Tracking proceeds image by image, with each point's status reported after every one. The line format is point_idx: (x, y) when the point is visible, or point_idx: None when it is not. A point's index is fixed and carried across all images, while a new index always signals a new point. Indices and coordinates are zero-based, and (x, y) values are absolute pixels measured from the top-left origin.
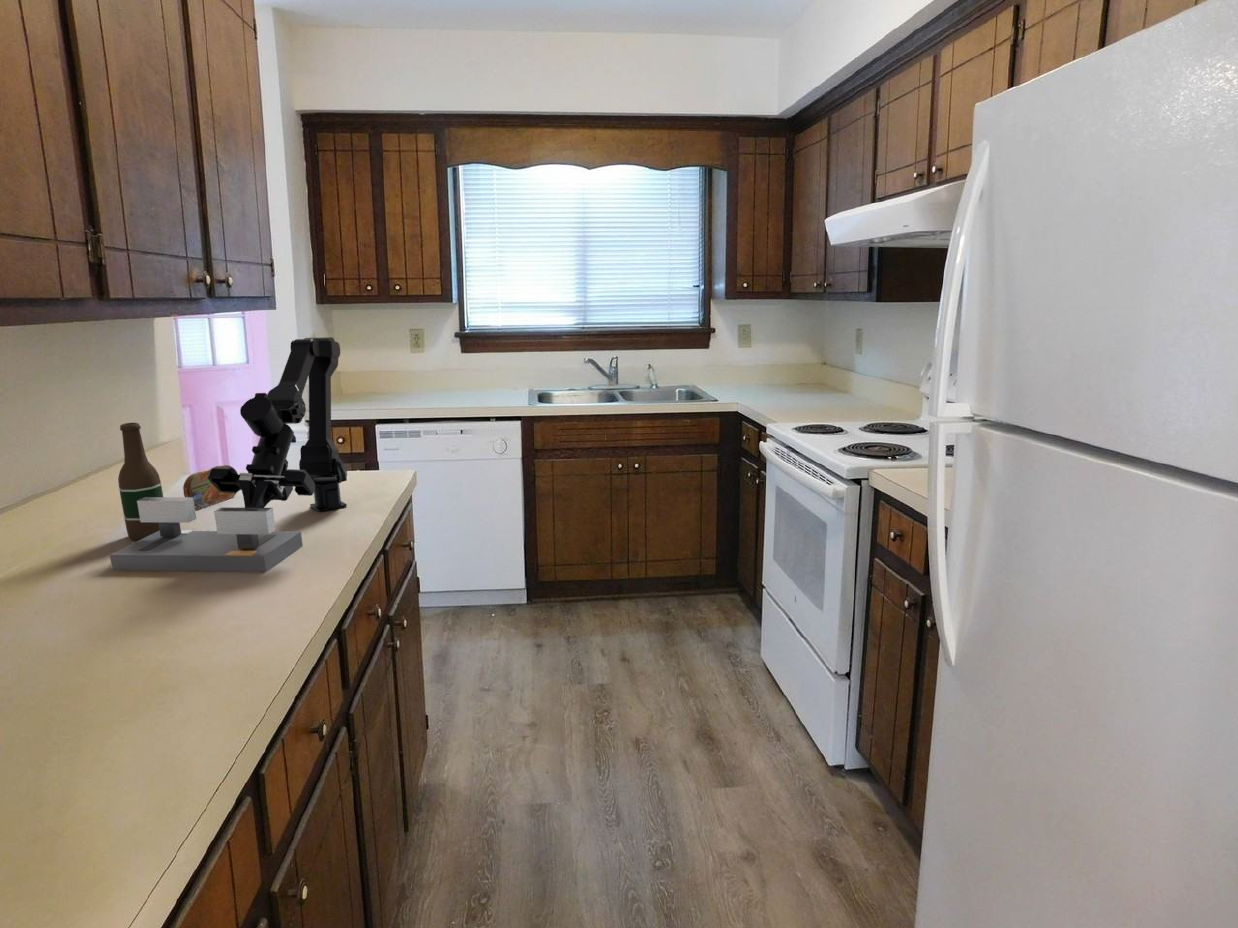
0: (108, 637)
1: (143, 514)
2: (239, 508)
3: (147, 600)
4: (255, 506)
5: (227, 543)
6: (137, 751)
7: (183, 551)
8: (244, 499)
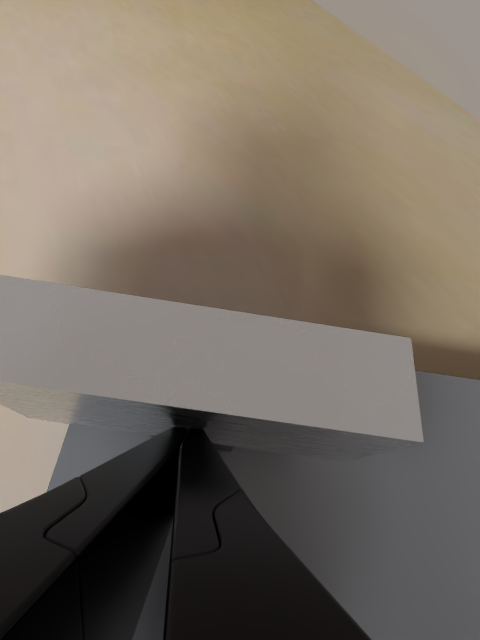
0: (312, 91)
1: None
2: (243, 388)
3: (355, 207)
4: (119, 456)
5: (340, 522)
6: None
7: (467, 421)
8: (238, 494)
